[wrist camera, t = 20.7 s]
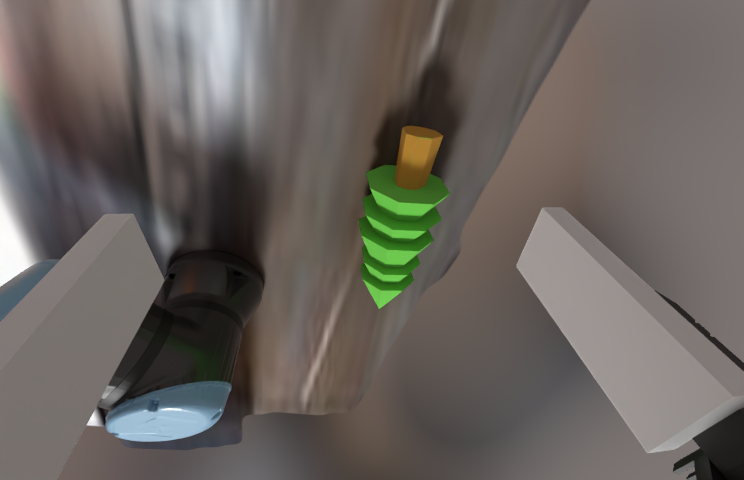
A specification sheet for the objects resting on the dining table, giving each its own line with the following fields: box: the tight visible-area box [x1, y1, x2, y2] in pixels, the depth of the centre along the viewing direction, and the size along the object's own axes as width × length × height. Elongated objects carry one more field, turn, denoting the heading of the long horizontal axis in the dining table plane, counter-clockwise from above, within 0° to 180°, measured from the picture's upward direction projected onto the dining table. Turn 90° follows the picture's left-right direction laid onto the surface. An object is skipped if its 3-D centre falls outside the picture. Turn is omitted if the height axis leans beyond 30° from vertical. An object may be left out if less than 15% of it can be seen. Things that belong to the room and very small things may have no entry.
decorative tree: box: [358, 125, 450, 309], centre depth 46 cm, size 11×12×30 cm
